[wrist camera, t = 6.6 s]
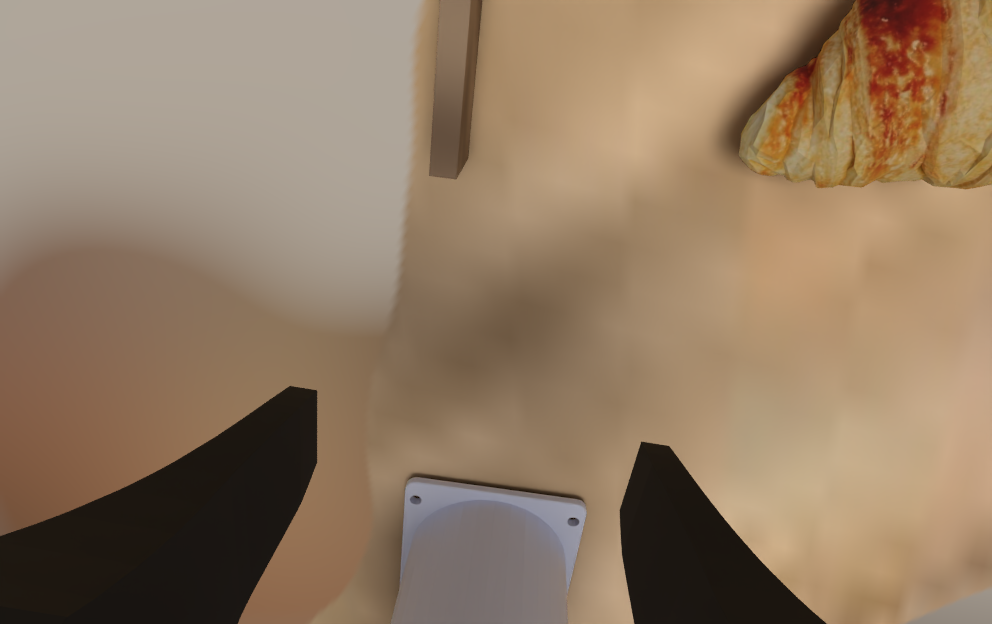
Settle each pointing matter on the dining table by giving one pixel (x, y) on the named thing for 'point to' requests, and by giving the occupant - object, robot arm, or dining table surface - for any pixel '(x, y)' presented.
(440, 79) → the frame
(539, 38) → the dining table surface
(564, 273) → the dining table surface
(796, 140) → the croissant
